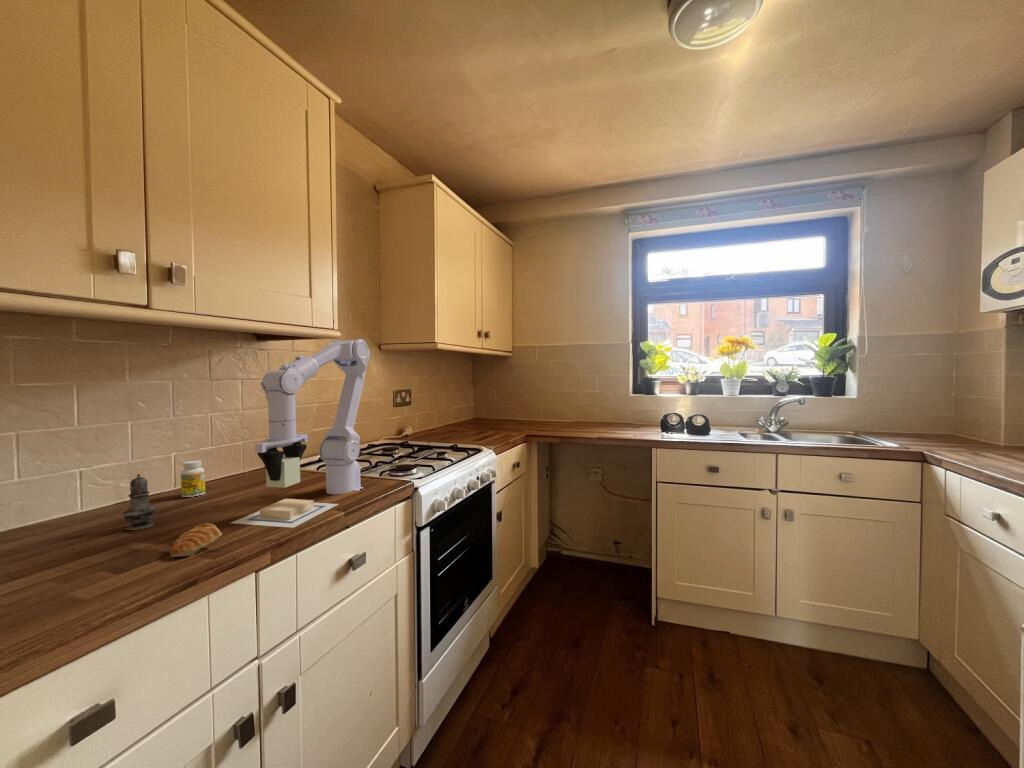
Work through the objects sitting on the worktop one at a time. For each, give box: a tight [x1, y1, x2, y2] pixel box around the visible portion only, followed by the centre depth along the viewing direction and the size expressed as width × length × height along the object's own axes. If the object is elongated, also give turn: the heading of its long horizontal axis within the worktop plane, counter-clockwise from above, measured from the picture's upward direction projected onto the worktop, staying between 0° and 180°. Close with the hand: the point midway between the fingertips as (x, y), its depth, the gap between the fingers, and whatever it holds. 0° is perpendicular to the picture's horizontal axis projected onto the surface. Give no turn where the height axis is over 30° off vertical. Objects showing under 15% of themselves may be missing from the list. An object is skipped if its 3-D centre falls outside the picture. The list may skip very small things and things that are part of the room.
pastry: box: [169, 523, 223, 559], centre depth 81 cm, size 9×7×4 cm
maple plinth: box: [259, 498, 315, 520], centre depth 98 cm, size 8×8×2 cm
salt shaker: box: [121, 473, 158, 530], centre depth 93 cm, size 6×6×12 cm
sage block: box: [265, 456, 301, 488], centre depth 98 cm, size 5×5×6 cm
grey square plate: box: [230, 502, 339, 529], centre depth 98 cm, size 16×16×1 cm
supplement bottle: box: [180, 460, 206, 498], centre depth 117 cm, size 5×5×10 cm
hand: (283, 477), depth 98 cm, fingers closed on sage block, 5 cm apart
